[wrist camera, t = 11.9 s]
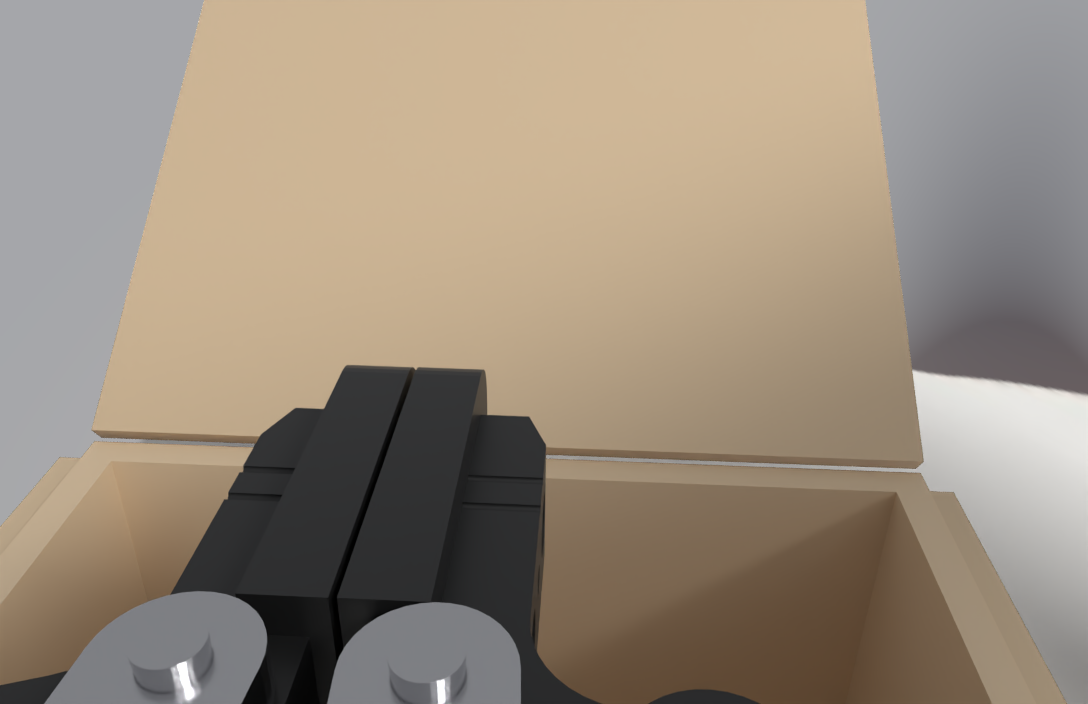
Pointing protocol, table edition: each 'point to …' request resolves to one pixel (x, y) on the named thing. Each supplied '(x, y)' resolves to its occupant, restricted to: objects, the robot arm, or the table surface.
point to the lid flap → (530, 226)
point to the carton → (600, 577)
